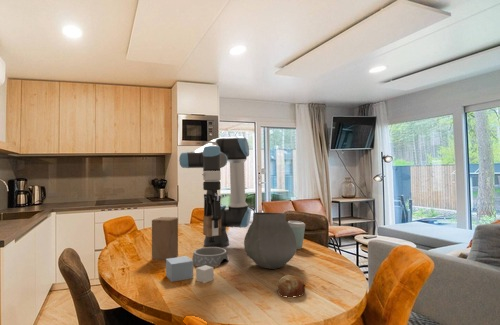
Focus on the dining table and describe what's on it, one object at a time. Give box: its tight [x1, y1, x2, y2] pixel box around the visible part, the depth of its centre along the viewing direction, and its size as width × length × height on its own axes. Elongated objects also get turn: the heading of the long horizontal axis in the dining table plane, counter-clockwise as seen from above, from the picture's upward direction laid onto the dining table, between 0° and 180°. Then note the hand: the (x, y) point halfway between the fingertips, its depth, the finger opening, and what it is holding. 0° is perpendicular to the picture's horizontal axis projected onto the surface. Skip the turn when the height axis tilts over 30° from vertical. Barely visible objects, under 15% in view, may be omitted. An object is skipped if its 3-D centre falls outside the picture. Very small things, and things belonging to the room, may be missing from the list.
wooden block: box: [151, 216, 179, 261], centre depth 161 cm, size 10×10×20 cm
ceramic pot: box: [243, 211, 298, 270], centre depth 145 cm, size 24×24×25 cm
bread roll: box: [276, 274, 306, 298], centre depth 113 cm, size 10×10×8 cm
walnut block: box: [202, 215, 221, 237], centre depth 135 cm, size 6×6×8 cm
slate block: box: [165, 255, 194, 283], centre depth 131 cm, size 9×9×7 cm
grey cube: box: [195, 265, 215, 284], centre depth 127 cm, size 5×5×5 cm
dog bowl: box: [191, 246, 229, 267], centre depth 153 cm, size 17×18×5 cm
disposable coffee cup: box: [287, 220, 306, 250], centre depth 178 cm, size 11×11×15 cm
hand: (212, 233), depth 135 cm, fingers closed on walnut block, 6 cm apart
